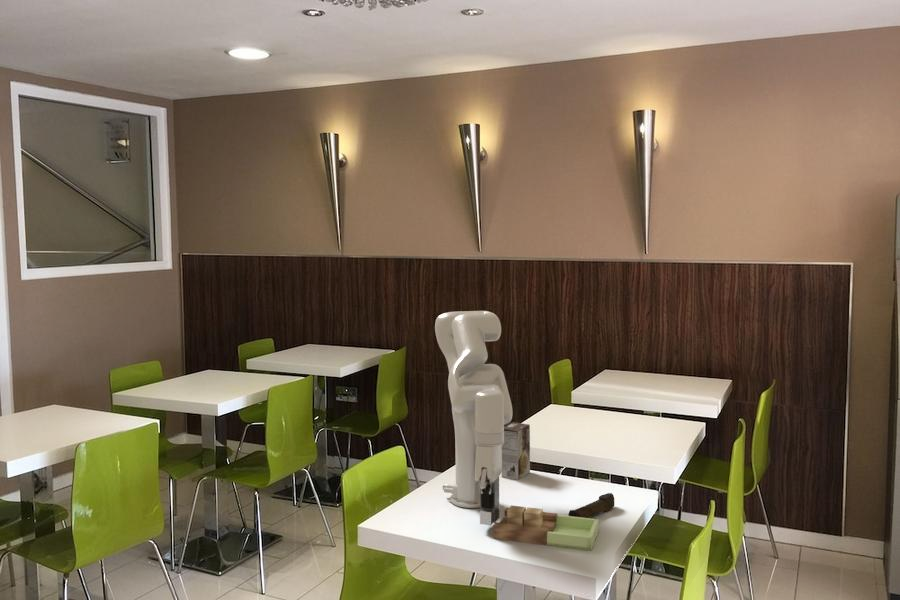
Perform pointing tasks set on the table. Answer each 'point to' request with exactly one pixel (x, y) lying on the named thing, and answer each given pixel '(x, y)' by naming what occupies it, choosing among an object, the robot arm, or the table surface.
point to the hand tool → (595, 507)
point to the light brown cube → (515, 515)
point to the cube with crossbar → (493, 514)
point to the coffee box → (516, 451)
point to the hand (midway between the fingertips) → (489, 504)
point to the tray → (574, 532)
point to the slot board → (525, 530)
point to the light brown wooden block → (533, 517)
